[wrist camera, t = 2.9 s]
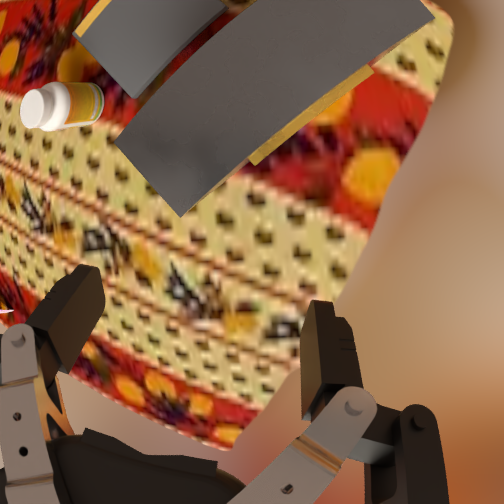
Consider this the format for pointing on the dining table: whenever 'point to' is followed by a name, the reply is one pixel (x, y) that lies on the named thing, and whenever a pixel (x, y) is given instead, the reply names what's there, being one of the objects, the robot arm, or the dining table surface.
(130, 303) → the dining table surface
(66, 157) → the dining table surface
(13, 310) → the lily
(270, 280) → the dining table surface
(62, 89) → the supplement bottle
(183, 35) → the mat
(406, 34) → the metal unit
